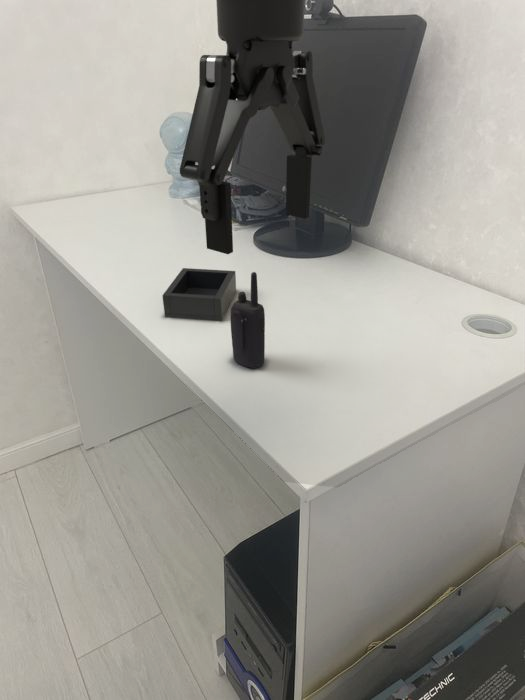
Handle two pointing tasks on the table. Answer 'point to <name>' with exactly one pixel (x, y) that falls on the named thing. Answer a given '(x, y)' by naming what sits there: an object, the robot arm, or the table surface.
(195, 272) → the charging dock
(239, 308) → the two-way radio
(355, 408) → the table surface
